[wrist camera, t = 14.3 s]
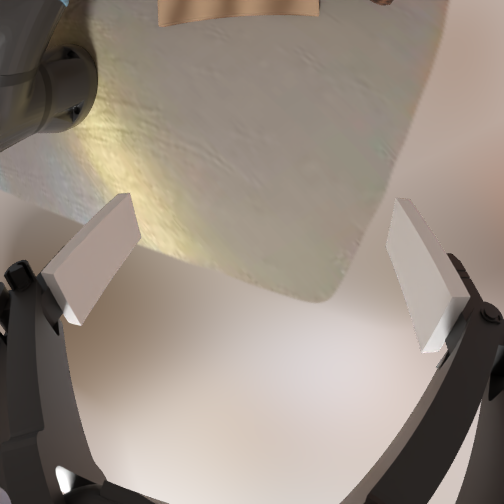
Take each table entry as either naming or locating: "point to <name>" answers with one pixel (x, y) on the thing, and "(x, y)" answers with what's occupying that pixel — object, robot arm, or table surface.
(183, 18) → the stand
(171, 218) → the table surface
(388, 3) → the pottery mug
